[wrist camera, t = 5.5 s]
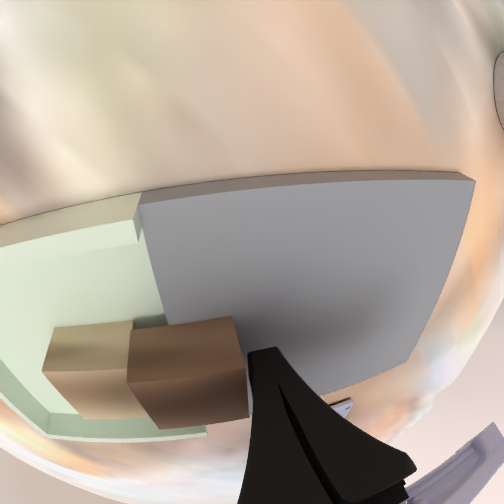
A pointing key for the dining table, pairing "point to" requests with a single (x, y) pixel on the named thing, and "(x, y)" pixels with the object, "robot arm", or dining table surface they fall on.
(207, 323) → the walnut tile
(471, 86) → the dining table surface
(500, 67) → the coffee cup
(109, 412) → the oak tile
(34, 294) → the tray
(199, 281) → the slate board
